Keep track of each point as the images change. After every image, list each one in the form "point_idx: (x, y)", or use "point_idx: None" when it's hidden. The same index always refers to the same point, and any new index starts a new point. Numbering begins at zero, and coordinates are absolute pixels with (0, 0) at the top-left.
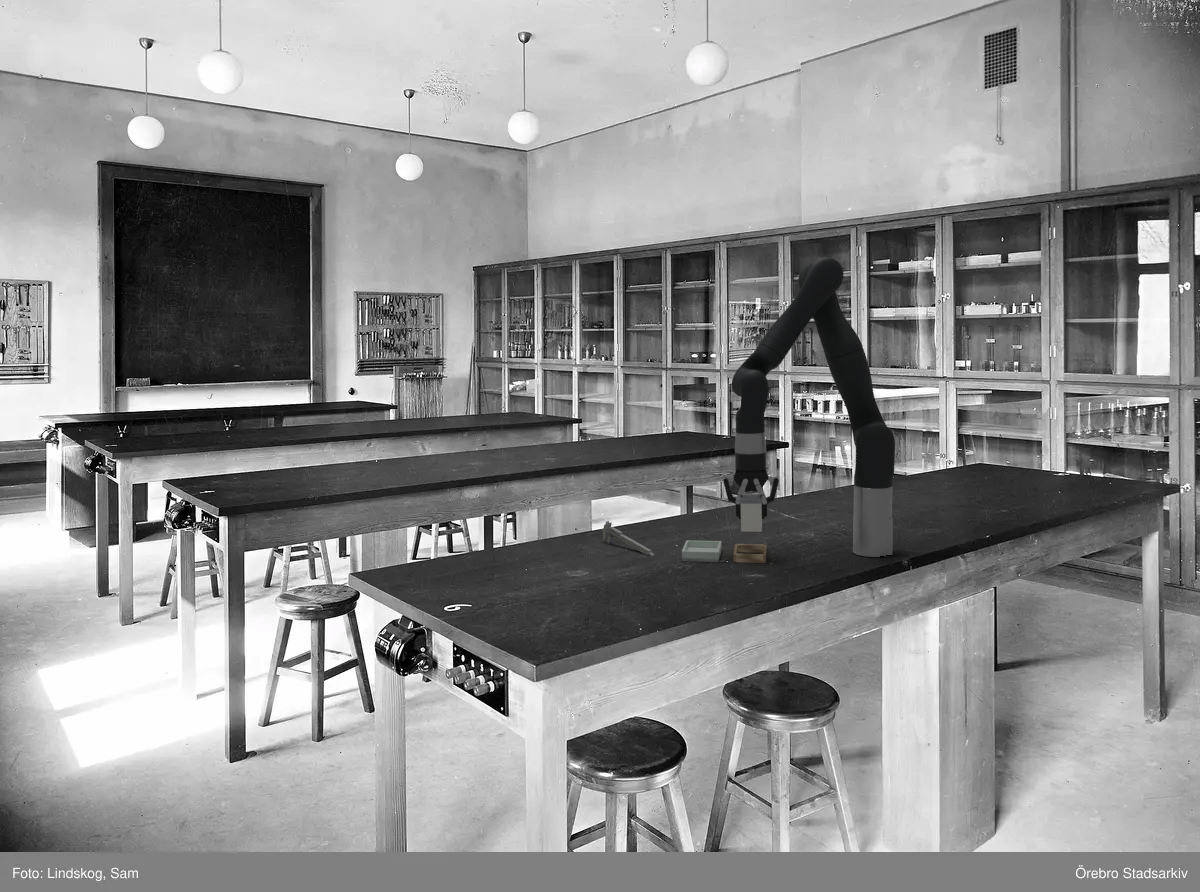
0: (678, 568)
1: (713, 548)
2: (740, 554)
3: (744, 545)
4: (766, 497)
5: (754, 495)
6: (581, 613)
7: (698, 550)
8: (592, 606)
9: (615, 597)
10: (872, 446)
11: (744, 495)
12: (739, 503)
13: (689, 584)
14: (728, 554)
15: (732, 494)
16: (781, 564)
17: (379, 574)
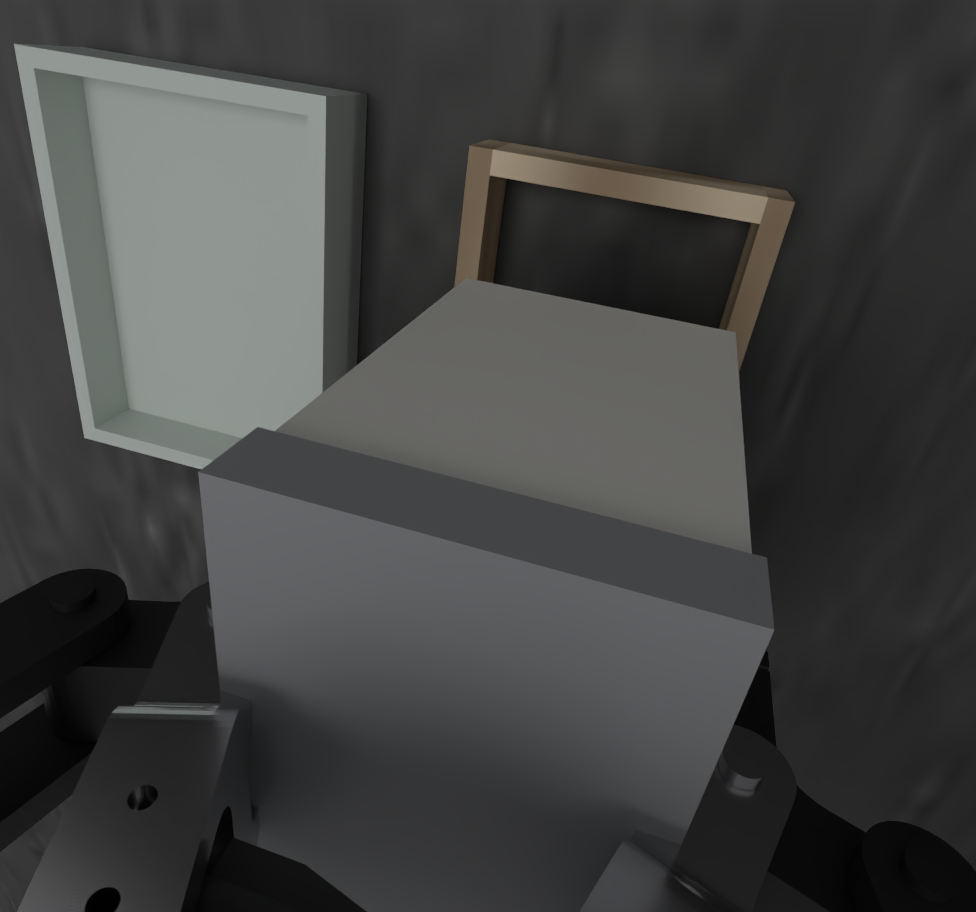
0: (151, 549)
1: (288, 128)
2: None
3: (558, 185)
4: (770, 886)
5: (506, 777)
6: (16, 901)
7: (180, 204)
8: (18, 868)
9: (44, 825)
10: None
11: (291, 709)
12: None
13: None
14: (425, 241)
15: (48, 664)
16: (785, 580)
17: None
